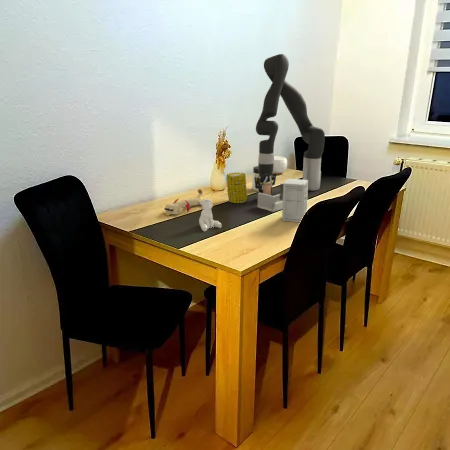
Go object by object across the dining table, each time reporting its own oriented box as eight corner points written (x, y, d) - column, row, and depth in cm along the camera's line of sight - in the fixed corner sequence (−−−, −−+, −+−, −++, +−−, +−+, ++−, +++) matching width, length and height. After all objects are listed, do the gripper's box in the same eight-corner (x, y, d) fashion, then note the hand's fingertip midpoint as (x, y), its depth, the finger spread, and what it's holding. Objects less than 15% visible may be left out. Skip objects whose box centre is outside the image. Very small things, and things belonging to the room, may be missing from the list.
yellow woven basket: (239, 208, 219) (224, 205, 226) (254, 198, 226) (239, 195, 233) (233, 179, 212) (218, 176, 219) (249, 169, 219) (234, 167, 226)
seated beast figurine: (203, 232, 182) (203, 203, 178) (192, 226, 189) (191, 198, 185) (222, 227, 188) (222, 199, 184) (210, 222, 194) (210, 195, 190)
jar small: (264, 196, 232) (265, 179, 229) (273, 199, 228) (273, 181, 225) (256, 199, 228) (257, 181, 225) (265, 201, 224) (265, 183, 221)
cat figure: (193, 204, 224) (158, 213, 204) (194, 187, 222) (158, 194, 202) (209, 208, 218) (174, 217, 199) (210, 190, 216) (174, 197, 196)
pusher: (281, 199, 224) (282, 183, 221) (292, 202, 219) (293, 185, 216) (279, 199, 223) (280, 183, 220) (290, 202, 218) (291, 186, 216)
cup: (266, 175, 280) (266, 159, 277) (267, 170, 291) (268, 155, 288) (286, 175, 278) (286, 160, 275) (286, 171, 290) (287, 156, 286)
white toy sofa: (280, 200, 226) (281, 186, 224) (296, 204, 219) (297, 190, 217) (257, 207, 215) (257, 192, 213) (273, 211, 208) (273, 197, 206)
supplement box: (307, 216, 201) (309, 179, 196) (303, 223, 193) (305, 184, 187) (285, 214, 204) (287, 178, 199) (281, 220, 196) (283, 182, 190)
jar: (260, 192, 241) (260, 169, 237) (249, 189, 247) (249, 167, 243) (271, 189, 247) (272, 167, 243) (260, 186, 253) (260, 165, 249)
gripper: (269, 159, 229) (268, 191, 235) (250, 162, 220) (249, 196, 226) (281, 161, 224) (280, 194, 230) (261, 165, 215) (260, 199, 220)
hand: (265, 195), depth 228 cm, fingers closed on jar small, 5 cm apart
